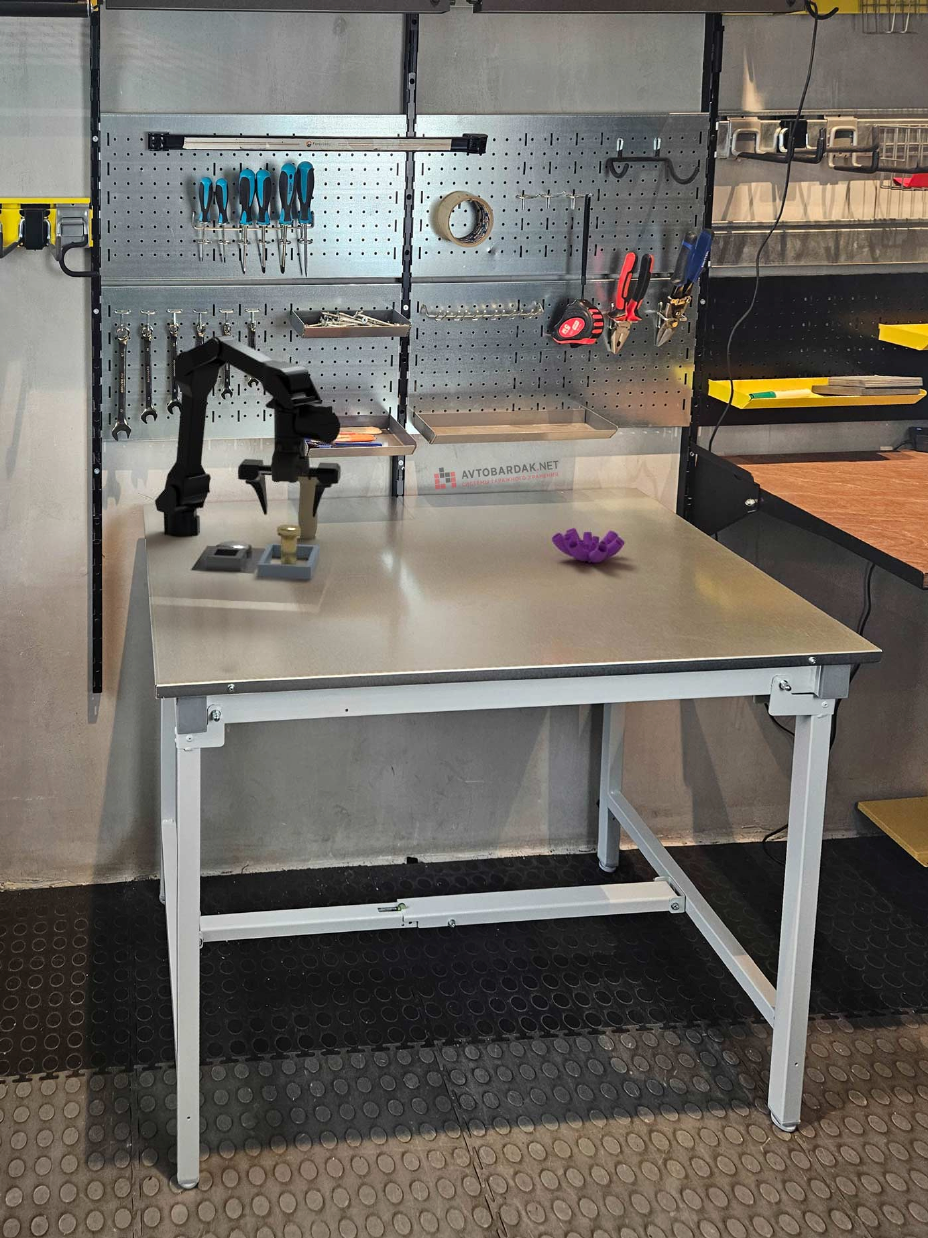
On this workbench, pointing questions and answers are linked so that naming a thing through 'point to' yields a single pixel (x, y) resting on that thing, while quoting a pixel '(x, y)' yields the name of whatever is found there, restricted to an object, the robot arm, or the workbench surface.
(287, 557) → the pin
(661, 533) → the workbench surface
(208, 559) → the grey socket base
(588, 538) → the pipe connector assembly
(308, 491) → the handle
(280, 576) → the pin tray
